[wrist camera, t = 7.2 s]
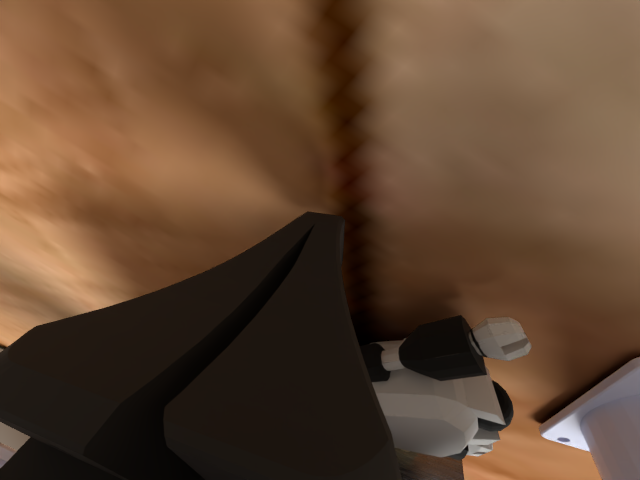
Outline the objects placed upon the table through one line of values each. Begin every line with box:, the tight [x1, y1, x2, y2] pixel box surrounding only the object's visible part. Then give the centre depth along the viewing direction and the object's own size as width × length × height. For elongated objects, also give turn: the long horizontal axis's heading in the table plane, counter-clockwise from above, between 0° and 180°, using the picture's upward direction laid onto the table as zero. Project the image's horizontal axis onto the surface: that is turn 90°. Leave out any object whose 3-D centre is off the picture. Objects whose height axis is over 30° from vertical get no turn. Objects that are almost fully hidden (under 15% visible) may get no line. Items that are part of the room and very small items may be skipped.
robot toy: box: [359, 315, 532, 460], centre depth 14 cm, size 12×4×15 cm
